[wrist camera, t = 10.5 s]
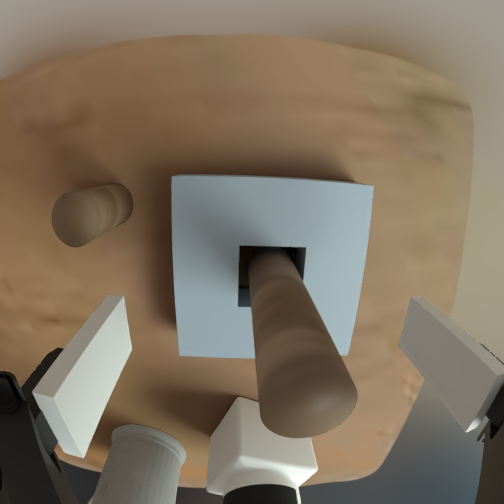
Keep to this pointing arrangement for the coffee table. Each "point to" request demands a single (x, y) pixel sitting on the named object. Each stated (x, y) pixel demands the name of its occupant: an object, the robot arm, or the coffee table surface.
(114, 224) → the short pin
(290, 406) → the long pin
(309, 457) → the medicine bottle
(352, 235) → the collar plate
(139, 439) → the grey black mug
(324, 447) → the coffee table surface
